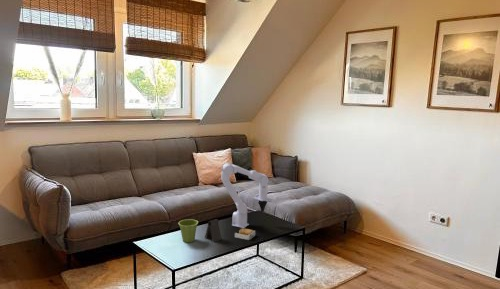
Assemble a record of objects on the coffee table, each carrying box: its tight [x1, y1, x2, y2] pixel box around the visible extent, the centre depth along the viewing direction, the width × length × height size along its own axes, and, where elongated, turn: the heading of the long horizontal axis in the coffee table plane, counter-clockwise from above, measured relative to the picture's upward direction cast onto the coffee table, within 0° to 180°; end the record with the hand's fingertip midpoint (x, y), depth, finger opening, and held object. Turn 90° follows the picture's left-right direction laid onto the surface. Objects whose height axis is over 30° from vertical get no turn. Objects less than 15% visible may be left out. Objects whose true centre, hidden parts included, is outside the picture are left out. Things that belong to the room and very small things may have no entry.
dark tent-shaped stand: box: [204, 218, 222, 243], centre depth 224 cm, size 9×6×12 cm, turn 46°
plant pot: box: [178, 218, 199, 243], centre depth 221 cm, size 12×12×11 cm
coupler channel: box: [234, 228, 256, 241], centre depth 230 cm, size 10×9×3 cm
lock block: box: [238, 228, 254, 235], centre depth 230 cm, size 7×5×4 cm
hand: (262, 211), depth 249 cm, fingers closed
